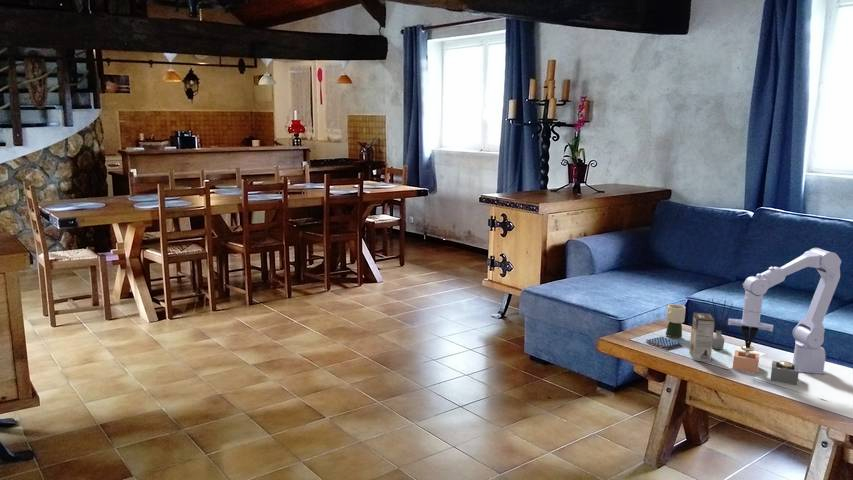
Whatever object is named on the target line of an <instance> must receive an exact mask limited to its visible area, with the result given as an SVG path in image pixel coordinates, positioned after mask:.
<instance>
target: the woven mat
mask: <svg viewBox="0 0 853 480" xmlns="http://www.w3.org/2000/svg"><path fill="white" fill-rule="evenodd" d="M645 342H646V344H647V345H649V346H653V347H656V348H659V349H661V350H664V351H667V350H668V351H669V350H672V349H675V348H682V347H683V343H682V342H679V341H677V340H674V339H670V338H668V337H665V336H659V337H654V338H653V337H652V338H649V339H646V340H645Z"/></svg>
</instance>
